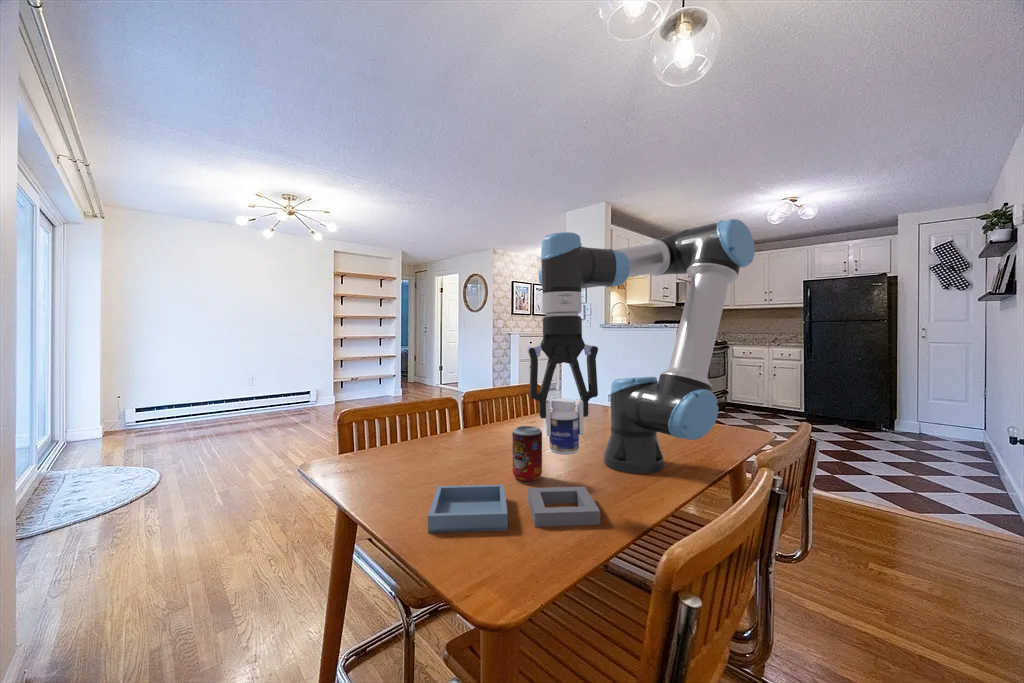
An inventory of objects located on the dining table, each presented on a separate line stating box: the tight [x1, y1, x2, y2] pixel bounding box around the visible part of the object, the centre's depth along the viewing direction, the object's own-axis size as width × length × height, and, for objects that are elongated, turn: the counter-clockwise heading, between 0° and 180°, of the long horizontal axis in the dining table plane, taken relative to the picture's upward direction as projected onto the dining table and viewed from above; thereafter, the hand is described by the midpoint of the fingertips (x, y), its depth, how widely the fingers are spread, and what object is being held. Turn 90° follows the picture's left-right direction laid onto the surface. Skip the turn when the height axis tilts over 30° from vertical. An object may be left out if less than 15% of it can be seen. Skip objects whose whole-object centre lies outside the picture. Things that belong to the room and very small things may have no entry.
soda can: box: [511, 425, 543, 485], centre depth 99 cm, size 7×7×12 cm
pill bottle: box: [548, 398, 580, 456], centre depth 82 cm, size 6×6×10 cm
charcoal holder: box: [527, 486, 601, 528], centre depth 82 cm, size 12×12×2 cm
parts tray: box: [427, 484, 509, 534], centre depth 81 cm, size 14×14×3 cm
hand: (563, 433), depth 82 cm, fingers closed on pill bottle, 6 cm apart
